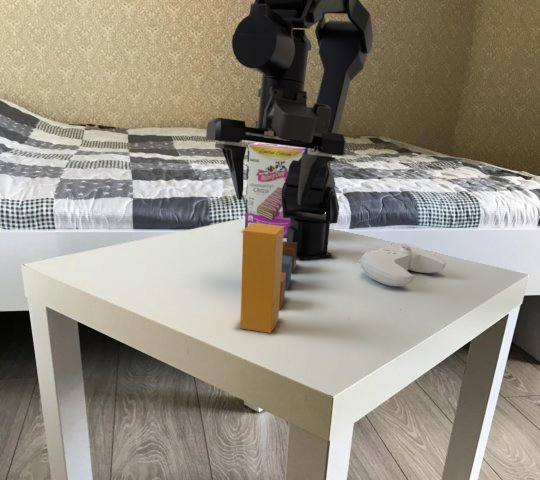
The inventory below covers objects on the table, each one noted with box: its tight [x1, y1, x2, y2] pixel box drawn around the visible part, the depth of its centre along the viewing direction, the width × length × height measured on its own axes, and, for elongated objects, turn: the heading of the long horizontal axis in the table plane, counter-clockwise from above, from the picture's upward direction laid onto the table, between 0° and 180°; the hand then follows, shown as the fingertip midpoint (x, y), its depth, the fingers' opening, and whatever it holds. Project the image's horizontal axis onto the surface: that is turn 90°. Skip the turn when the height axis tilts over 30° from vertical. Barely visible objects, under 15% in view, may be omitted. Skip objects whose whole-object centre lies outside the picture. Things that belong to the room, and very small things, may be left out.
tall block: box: [239, 223, 284, 334], centre depth 71 cm, size 4×4×12 cm
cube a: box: [282, 240, 298, 274], centre depth 93 cm, size 4×4×4 cm
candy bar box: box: [244, 142, 305, 238], centre depth 110 cm, size 11×5×16 cm, turn 71°
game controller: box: [358, 242, 447, 287], centre depth 93 cm, size 14×4×10 cm
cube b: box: [281, 256, 292, 291], centre depth 86 cm, size 4×4×4 cm
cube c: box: [279, 272, 286, 310], centre depth 80 cm, size 4×4×4 cm
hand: (270, 202), depth 82 cm, fingers open, 9 cm apart
